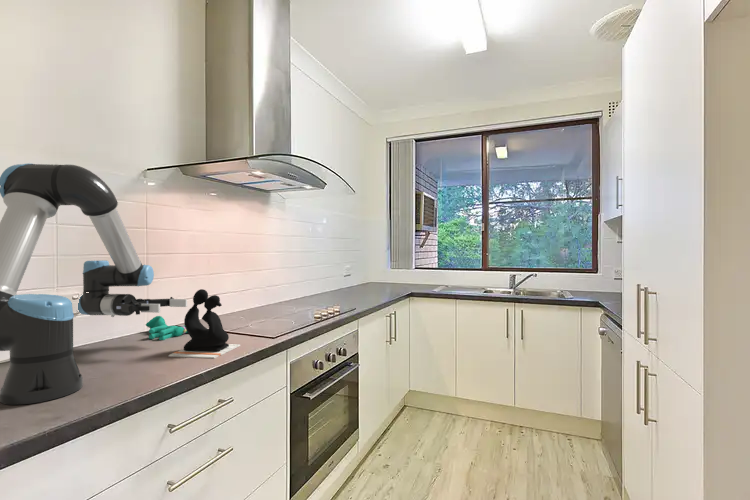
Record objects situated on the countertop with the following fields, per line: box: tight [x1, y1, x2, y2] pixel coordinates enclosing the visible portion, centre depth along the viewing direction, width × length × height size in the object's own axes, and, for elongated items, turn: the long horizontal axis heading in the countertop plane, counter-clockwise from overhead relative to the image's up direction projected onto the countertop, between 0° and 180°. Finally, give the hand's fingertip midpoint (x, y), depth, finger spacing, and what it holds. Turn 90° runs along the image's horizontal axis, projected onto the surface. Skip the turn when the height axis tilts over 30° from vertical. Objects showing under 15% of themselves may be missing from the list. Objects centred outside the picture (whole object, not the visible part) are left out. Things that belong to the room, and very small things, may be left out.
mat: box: [168, 343, 241, 359], centre depth 133 cm, size 16×16×1 cm
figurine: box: [183, 289, 230, 351], centre depth 133 cm, size 14×9×20 cm, turn 81°
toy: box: [145, 315, 188, 341], centre depth 159 cm, size 7×22×20 cm
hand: (173, 305), depth 136 cm, fingers open, 13 cm apart
